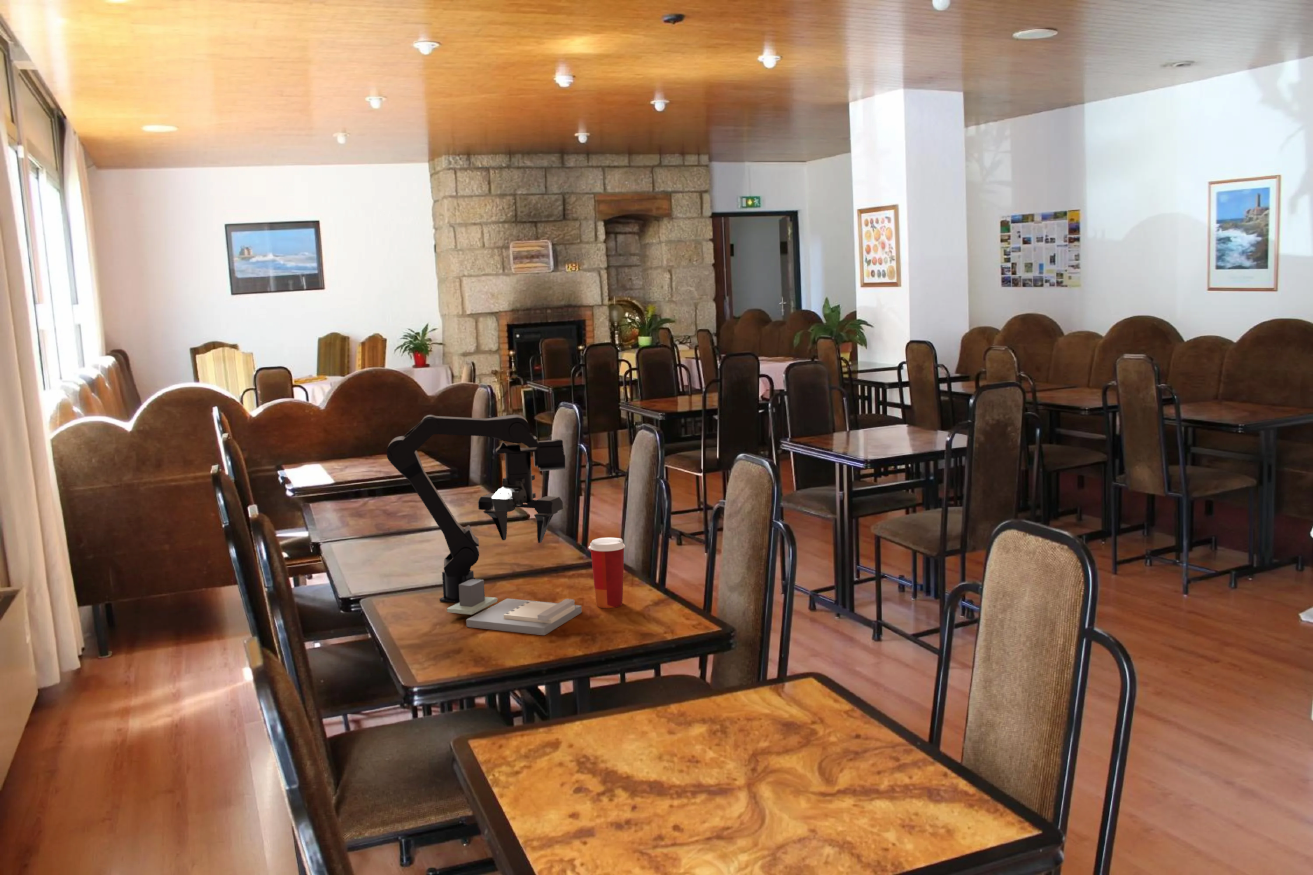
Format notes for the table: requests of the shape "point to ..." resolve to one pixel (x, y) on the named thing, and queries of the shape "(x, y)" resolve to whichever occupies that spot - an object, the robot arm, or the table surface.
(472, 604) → the gray block on plate
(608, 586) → the paper cup
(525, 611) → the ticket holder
